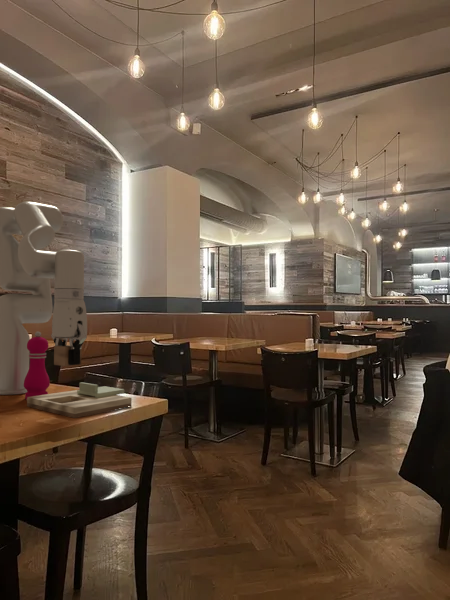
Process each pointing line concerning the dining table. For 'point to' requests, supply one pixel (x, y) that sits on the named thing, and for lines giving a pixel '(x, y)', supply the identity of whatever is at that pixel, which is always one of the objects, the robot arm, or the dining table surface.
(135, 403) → the dining table surface
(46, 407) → the board
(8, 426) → the dining table surface
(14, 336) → the robot arm
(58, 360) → the walnut cube
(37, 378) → the pepper mill
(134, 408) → the dining table surface
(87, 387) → the lid
